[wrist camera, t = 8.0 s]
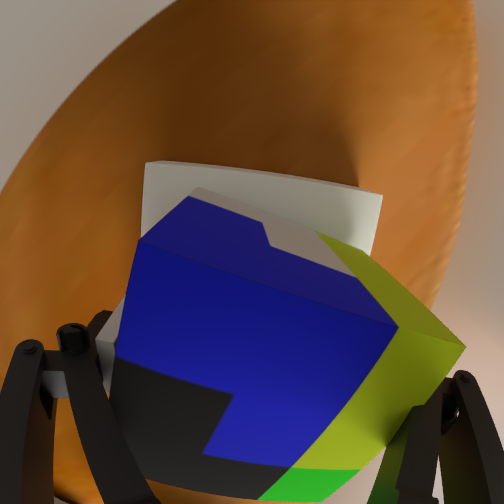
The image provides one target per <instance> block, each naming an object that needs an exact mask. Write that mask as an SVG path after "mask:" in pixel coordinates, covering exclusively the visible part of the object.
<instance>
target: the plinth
mask: <svg viewBox="0 0 504 504" xmlns="http://www.w3.org/2000/svg"><path fill="white" fill-rule="evenodd" d="M197 187H200V188H203V189H206V190H208V191H211V192H214V193H217V194H220V195H222V196H225V197H228V198H231V199H233V200H236V201H239V202H241V203H244V204H247V205H249V206H252V207H255V208H257V209H260V210H263V211H265V212H268V213H271V214H273V215H276V216H278V217H281V218H284V219H286V220H289V221H291V222H294V223H296V224H299V225H301V226H304V227H306V228H309V229H311V230H314V231H316V232H319V233H321V234H324V235H326V236H329V237H331V238H334V239H336V240H339V241H341V242H343V243H346V244H348V245H351V246H353V247H355V248H358V249H360V250H363V251H364V252H365V253H366V254H367V255H369V256H370V253H371V249H372V245H373V241H374V236H375V232H376V227H377V223H378V218H379V213H380V209H381V204H382V199H383V195H380V194H377V193H374V192H371V191H369V190H366V189H363V188H360V187H355V186H350V185H345V184H340V183H334V182H329V181H323V180H318V179H312V178H306V177H300V176H293V175H287V174H280V173H274V172H267V171H259V170H252V169H244V168H236V167H227V166H218V165H209V164H198V163H187V162H175V161H155V162H147V163H145V173H144V186H143V201H142V221H141V237H142V236H144V235H145V234H146V233H147V232H148V231H149V230H150V229H151V228H152V227H153V226H154V225H155V224H157V223H158V222H159V221H160V220H161V219H162V218H163V217H164V216H165V215H166V214H168V213H169V212H170V211H171V210H172V209H173V208H174V207H175V206H177V205H178V204H179V203H180V202H181V201H182V200H183V199H185V198H186V197H187V196H188V195H189V194H190V193H192V192H193V191H194V190H195V189H196V188H197Z"/></svg>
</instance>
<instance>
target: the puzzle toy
mask: <svg viewBox="0 0 504 504" xmlns="http://www.w3.org/2000/svg"><path fill="white" fill-rule="evenodd" d="M465 348H466V346H465V345H464V344H463V343H462V342H461V341H460V340H459V339H458V338H457V337H456V336H455V335H454V334H453V333H452V332H451V331H450V330H449V329H448V328H447V327H446V326H445V325H444V324H443V323H442V322H441V321H440V320H439V319H438V318H437V317H436V316H435V315H434V314H433V313H432V312H431V311H430V310H428V309H427V308H426V307H425V306H424V305H423V304H422V303H421V302H420V301H419V300H418V299H417V298H416V297H415V296H414V295H412V294H411V293H410V292H409V291H408V290H407V289H406V288H405V287H404V286H403V285H401V284H400V283H399V282H398V281H397V280H396V279H395V278H394V277H393V276H391V275H390V274H389V273H388V272H387V271H386V270H385V269H384V268H382V267H381V266H380V265H379V264H378V263H377V262H375V261H374V260H373V259H372V258H371V257H370V256H369V255H367V254H366V253H365V252H364V251H363V250H360V249H358V248H355V247H353V246H351V245H348V244H346V243H343V242H341V241H339V240H336V239H334V238H331V237H329V236H326V235H324V234H321V233H319V232H316V231H314V230H311V229H309V228H306V227H304V226H301V225H299V224H296V223H294V222H291V221H289V220H286V219H284V218H281V217H278V216H276V215H273V214H271V213H268V212H265V211H263V210H260V209H257V208H255V207H252V206H249V205H247V204H244V203H241V202H239V201H236V200H233V199H231V198H228V197H225V196H222V195H220V194H217V193H214V192H211V191H208V190H206V189H203V188H200V187H197V188H196V189H195V190H194V191H193V192H192V193H190V194H189V195H188V196H187V197H186V198H185V199H183V200H182V201H181V202H180V203H179V204H178V205H177V206H175V207H174V208H173V209H172V210H171V211H170V212H169V213H168V214H166V215H165V216H164V217H163V218H162V219H161V220H160V221H159V222H158V223H157V224H155V225H154V226H153V227H152V228H151V229H150V230H149V231H148V232H147V233H146V234H145V235H144V236H142V237H141V238H140V239H139V241H138V245H137V249H136V253H135V257H134V261H133V265H132V269H131V273H130V278H129V282H128V287H127V291H126V296H125V301H124V306H123V311H122V316H121V321H120V326H119V332H118V338H117V344H116V350H115V357H114V363H113V370H112V378H111V386H110V395H109V402H110V404H111V407H112V410H113V412H114V414H115V417H116V419H117V422H118V424H119V426H120V429H121V431H122V433H123V435H124V438H125V440H126V442H127V444H128V446H129V448H130V451H131V453H132V455H133V457H134V459H135V461H136V463H137V465H138V467H139V469H140V470H141V472H142V474H143V476H144V478H146V479H149V480H152V481H156V482H160V483H163V484H167V485H171V486H175V487H180V488H184V489H189V490H193V491H198V492H204V493H209V494H215V495H221V496H228V497H235V498H243V499H253V500H264V501H280V502H322V501H323V500H325V499H326V498H327V497H328V496H330V495H331V494H332V493H334V492H335V491H336V490H337V489H339V488H340V487H341V486H342V485H344V484H345V483H346V482H347V481H348V480H350V479H351V478H352V477H353V476H354V475H356V474H357V473H358V472H359V471H360V470H361V469H362V468H363V467H364V466H366V465H367V464H368V463H369V462H370V461H371V460H372V459H373V458H374V457H375V456H376V455H377V454H378V453H380V451H382V450H383V449H384V447H386V446H387V445H388V444H389V443H390V441H391V440H392V438H393V437H394V435H395V434H396V432H397V431H398V429H399V428H400V426H401V425H402V423H403V422H404V420H405V419H406V417H407V415H408V414H409V412H410V411H411V409H412V407H413V406H418V405H424V404H425V403H426V401H427V400H428V399H429V398H430V396H431V395H432V394H433V393H434V391H435V390H436V389H437V387H438V386H439V385H440V384H441V382H442V381H443V380H444V378H445V377H446V375H447V374H448V373H449V371H450V370H451V368H452V367H453V366H454V364H455V363H456V361H457V360H458V358H459V357H460V355H461V354H462V352H463V351H464V349H465Z"/></svg>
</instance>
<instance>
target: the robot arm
mask: <svg viewBox="0 0 504 504" xmlns="http://www.w3.org/2000/svg"><path fill="white" fill-rule="evenodd" d="M125 296H126V295H125ZM125 296H124V298H123V299H122V301H121V302H120V303H119V305H118V306H117V308H116V309H115V310H114V312H112V311H107V310H103V311H101V312H99V313H98V314H96V315H95V317H94V318H93V319H92V321H91V322H90V323H89V324H88V326H87V327H85V326H84V325H82V324H78V323H69V324H65V325H63V326H61V327H60V328H59V329H58V330H57V333H56V336H57V340H58V344H59V349H60V350H58V351H52V350H44V347H43V345H42V343H41V342H39V341H38V340H33V339H30V340H25V341H22V342H21V343H19V344H18V345H17V347H16V348H15V351H14V354H13V357H12V359H11V362H10V365H9V368H8V371H7V374H6V377H5V380H4V383H3V386H2V390H1V393H0V504H54V496H53V450H54V432H55V419H56V409H57V400H58V398H69V399H70V403H71V408H72V411H73V415H74V419H75V423H76V426H77V430H78V433H79V437H80V440H81V443H82V446H83V449H84V452H85V455H86V458H87V461H88V464H89V467H90V469H91V472H92V475H93V477H94V480H95V483H96V485H97V488H98V490H99V492H100V495H101V497H102V499H103V502H104V504H161V502H160V501H159V500H158V499H157V498H156V497H155V496H154V494H153V492H152V491H151V489H150V487H149V485H148V483H147V482H146V480H145V478H144V476H143V474H142V472H141V470H140V469H139V467H138V465H137V463H136V461H135V459H134V457H133V455H132V453H131V451H130V448H129V446H128V444H127V442H126V440H125V438H124V435H123V433H122V431H121V429H120V426H119V424H118V422H117V419H116V417H115V414H114V412H113V410H112V407H111V404H110V402H109V399H108V397H107V394H106V391H108V392H110V386H111V378H112V370H113V363H114V357H115V350H116V344H117V338H118V332H119V326H120V321H121V316H122V311H123V306H124V301H125ZM103 384H104V386H103ZM104 388H105V389H104ZM458 411H459V415H458V417H457V413H458ZM438 456H439V461H440V468H441V476H442V486H443V494H444V504H504V450H503V447H502V444H501V441H500V438H499V436H498V433H497V430H496V427H495V424H494V422H493V419H492V417H491V414H490V412H489V409H488V407H487V404H486V402H485V399H484V397H483V395H482V392H481V390H480V387H479V385H478V383H477V381H476V379H475V377H474V376H473V375H472V374H471V373H469V372H468V371H464V370H458V371H457V372H456V373H455V374H454V376H453V378H447V377H445V378H444V380H443V381H442V382H441V384H440V385H439V386H438V387H437V389H436V390H435V391H434V393H433V394H432V395H431V396H430V398H429V399H428V400H427V401H426V403H425V404H424V405H418V406H413V407H412V409H411V411H410V412H409V414H408V415H407V417H406V419H405V420H404V422H403V423H402V425H401V426H400V428H399V429H398V431H397V432H396V434H395V435H394V437H393V438H392V440H391V441H390V443H389V444H388V445H387V446H386V450H385V453H384V456H383V459H382V463H381V466H380V469H379V472H378V475H377V477H376V480H375V483H374V486H373V489H372V491H371V494H370V497H369V499H368V502H367V504H439V500H438V498H434V497H432V493H433V487H434V481H435V475H436V468H437V460H438Z"/></svg>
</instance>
